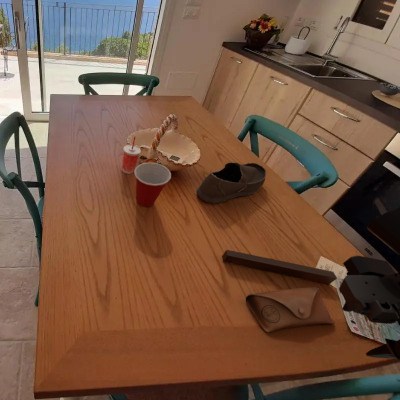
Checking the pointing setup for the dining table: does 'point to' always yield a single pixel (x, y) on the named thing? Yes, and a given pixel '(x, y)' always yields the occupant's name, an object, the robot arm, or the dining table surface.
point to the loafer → (232, 182)
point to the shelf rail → (279, 267)
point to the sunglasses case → (288, 308)
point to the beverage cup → (130, 158)
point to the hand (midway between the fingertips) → (356, 331)
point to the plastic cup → (150, 182)
